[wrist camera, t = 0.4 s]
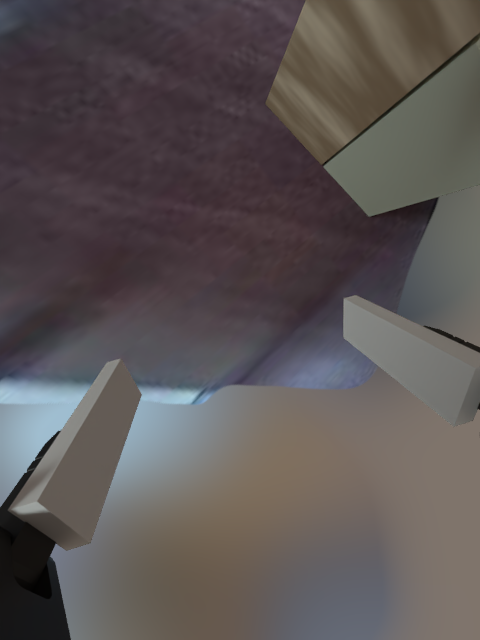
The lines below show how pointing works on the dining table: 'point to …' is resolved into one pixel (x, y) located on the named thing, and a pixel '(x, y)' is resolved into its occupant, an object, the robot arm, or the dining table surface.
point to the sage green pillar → (418, 141)
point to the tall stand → (362, 63)
